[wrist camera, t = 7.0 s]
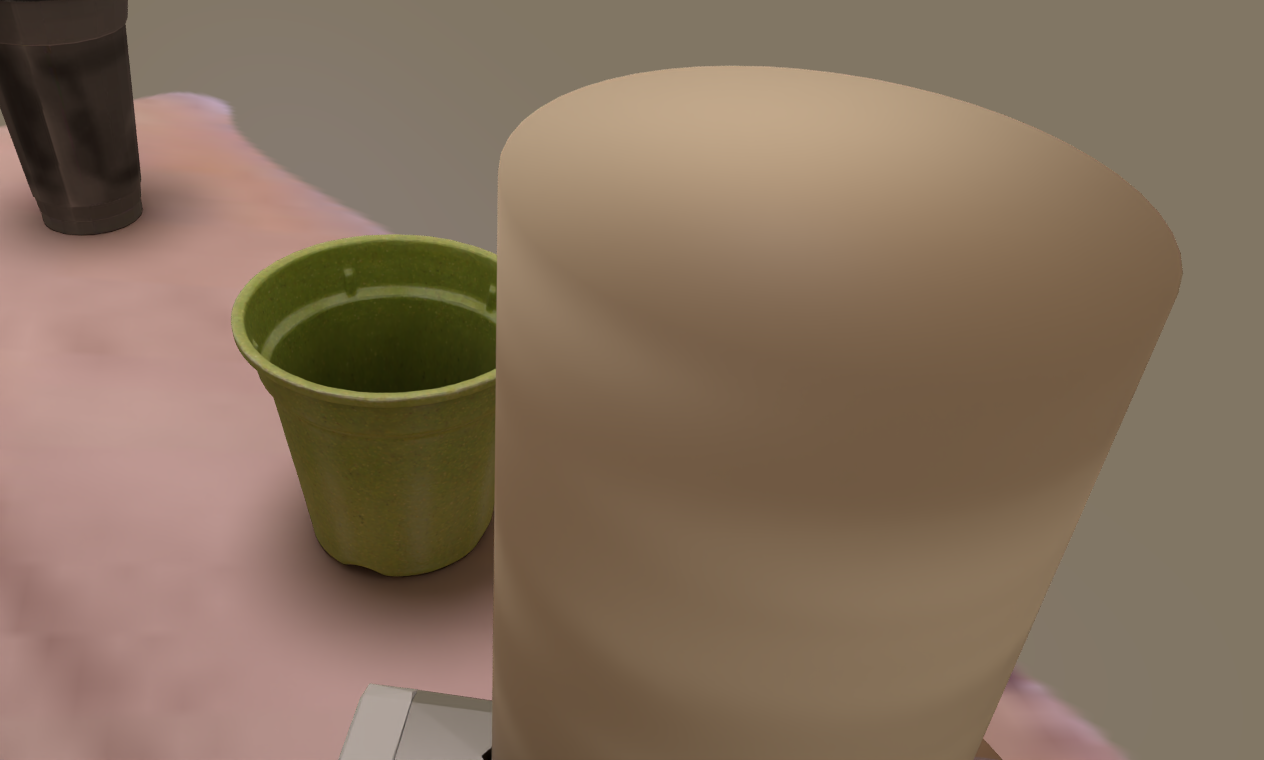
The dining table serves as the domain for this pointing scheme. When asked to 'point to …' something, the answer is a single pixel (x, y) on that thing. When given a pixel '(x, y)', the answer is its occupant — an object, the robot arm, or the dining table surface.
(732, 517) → the peg
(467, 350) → the plant pot
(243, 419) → the dining table surface
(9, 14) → the beverage cup
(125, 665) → the dining table surface
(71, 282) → the dining table surface
